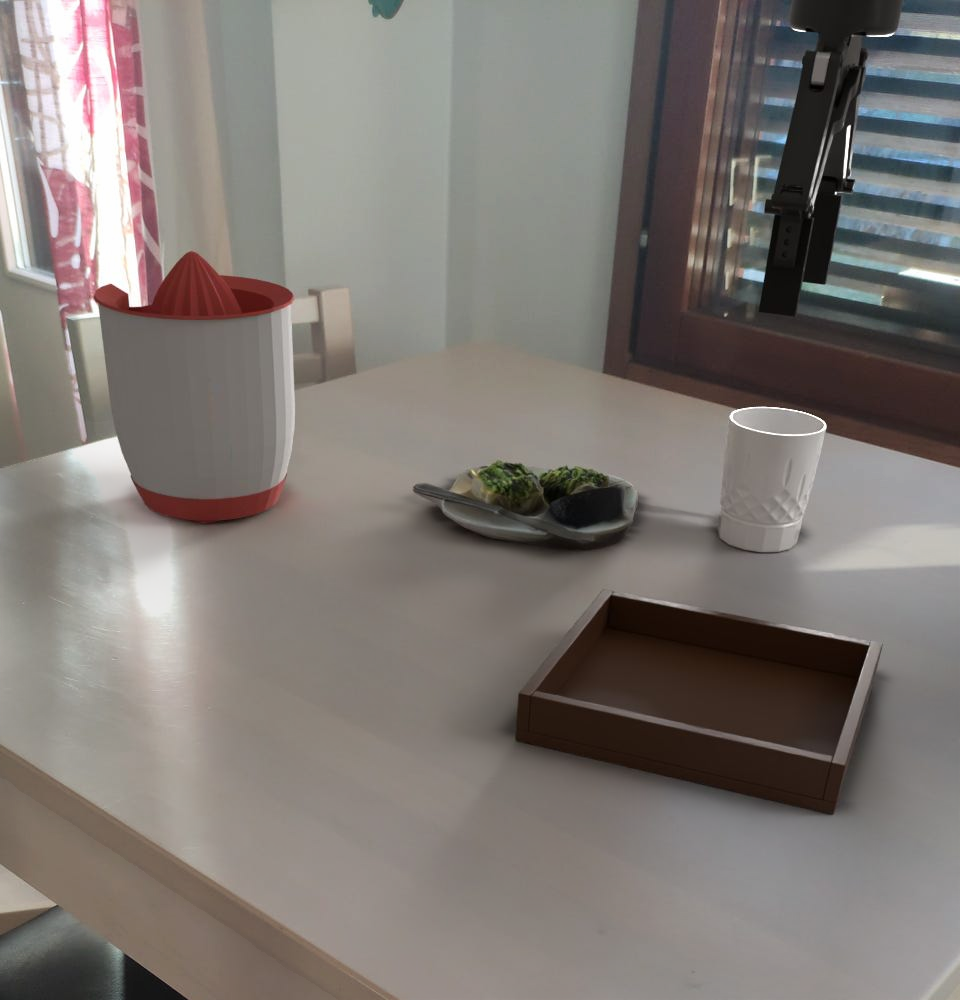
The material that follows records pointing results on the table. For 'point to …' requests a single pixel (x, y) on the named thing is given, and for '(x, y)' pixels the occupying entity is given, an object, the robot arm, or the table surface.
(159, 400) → the citrus juicer
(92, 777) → the table surface
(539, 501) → the salad plate
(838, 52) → the robot arm
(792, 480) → the white cup
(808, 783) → the tray
